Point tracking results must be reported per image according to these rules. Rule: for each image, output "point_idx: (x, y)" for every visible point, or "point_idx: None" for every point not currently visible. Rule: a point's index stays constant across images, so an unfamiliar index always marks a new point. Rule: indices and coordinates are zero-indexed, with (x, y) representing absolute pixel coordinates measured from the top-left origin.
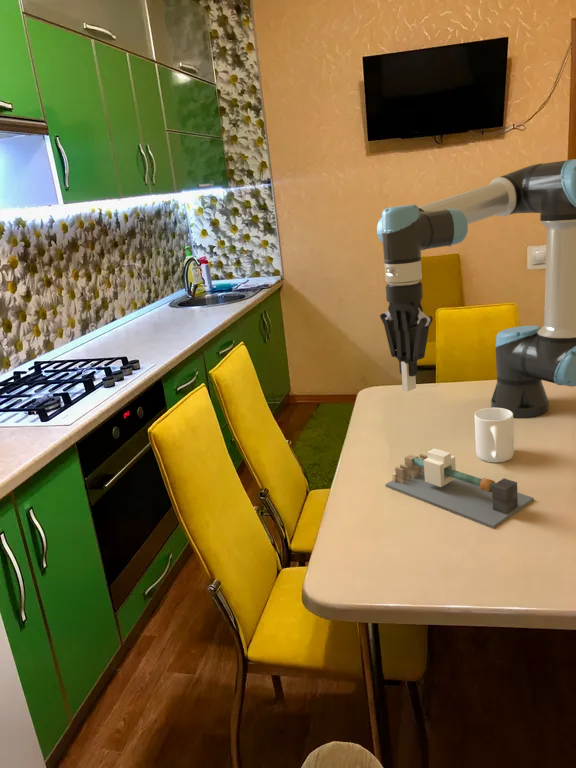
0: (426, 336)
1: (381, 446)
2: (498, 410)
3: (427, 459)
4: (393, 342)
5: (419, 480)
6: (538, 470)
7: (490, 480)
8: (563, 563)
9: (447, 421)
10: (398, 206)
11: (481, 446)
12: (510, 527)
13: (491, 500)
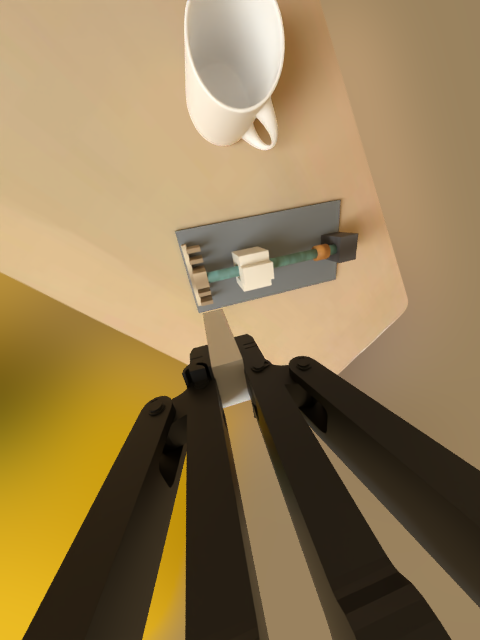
0: (453, 464)
1: (58, 240)
2: None
3: (246, 286)
4: (165, 517)
5: None
6: (303, 106)
7: (328, 251)
8: (395, 271)
9: None
10: None
11: (226, 138)
12: (343, 264)
13: (309, 244)
